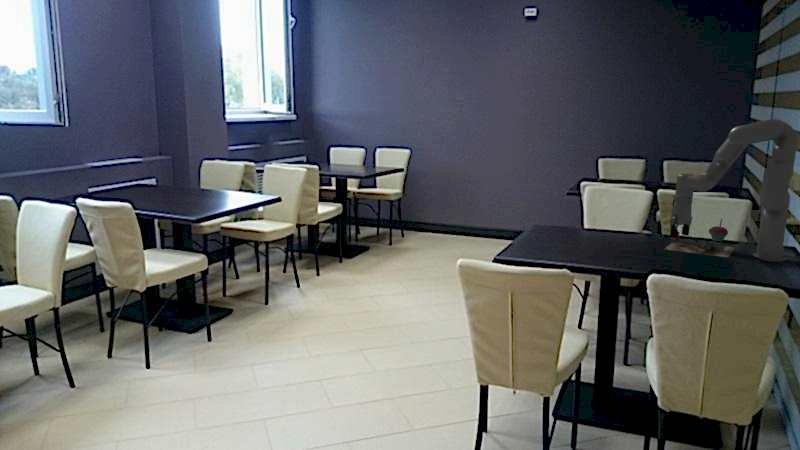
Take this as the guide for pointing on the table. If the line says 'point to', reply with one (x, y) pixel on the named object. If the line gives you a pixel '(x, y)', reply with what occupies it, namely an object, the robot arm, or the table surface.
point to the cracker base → (690, 249)
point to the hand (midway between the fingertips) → (679, 236)
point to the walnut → (706, 247)
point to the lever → (677, 241)
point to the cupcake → (718, 233)
